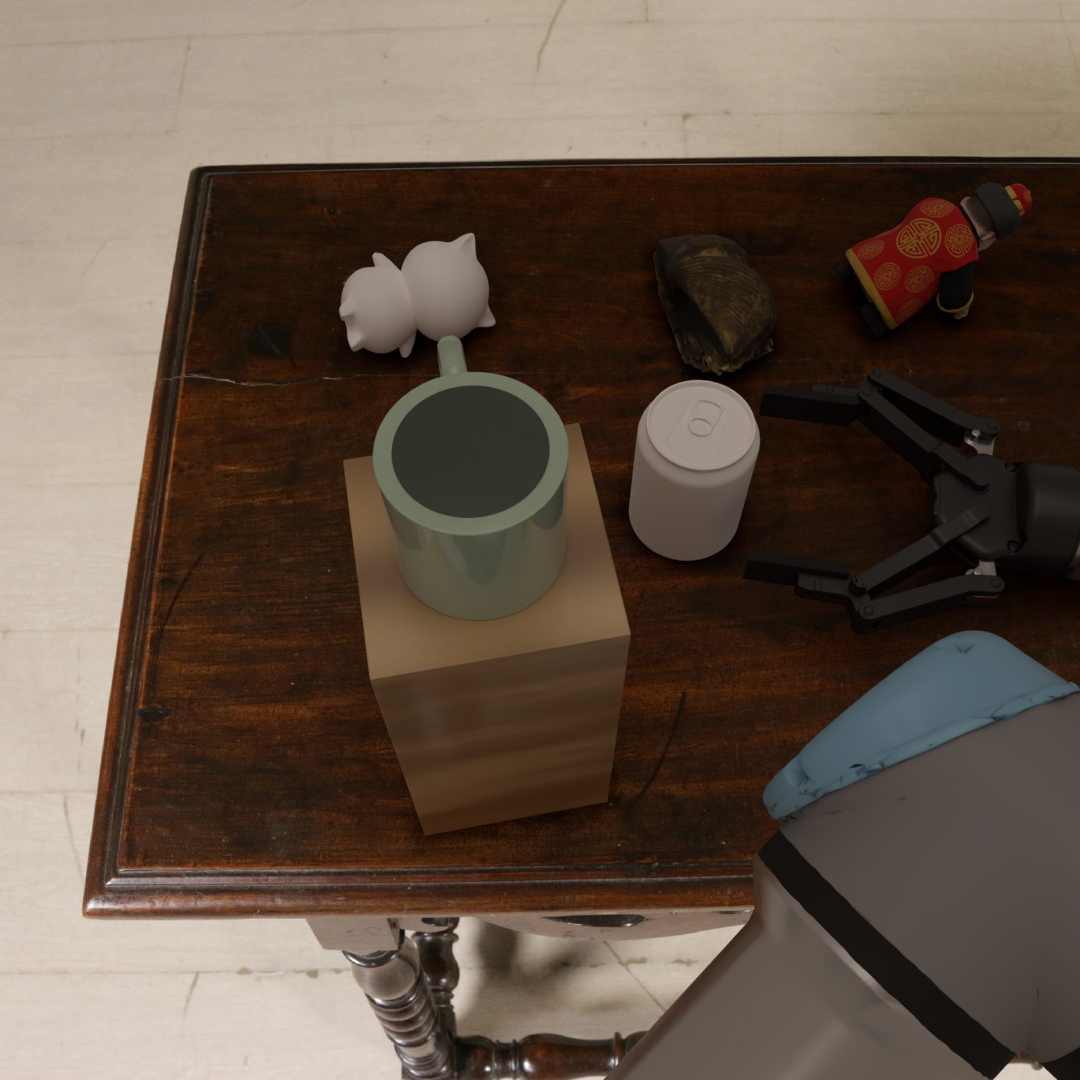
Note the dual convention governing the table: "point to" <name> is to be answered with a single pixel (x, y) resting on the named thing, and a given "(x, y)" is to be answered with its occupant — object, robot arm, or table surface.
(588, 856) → the table surface
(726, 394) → the beverage can
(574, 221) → the table surface
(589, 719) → the plinth
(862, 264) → the figurine
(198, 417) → the table surface
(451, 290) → the cat figurine
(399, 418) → the mug
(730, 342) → the seashell
